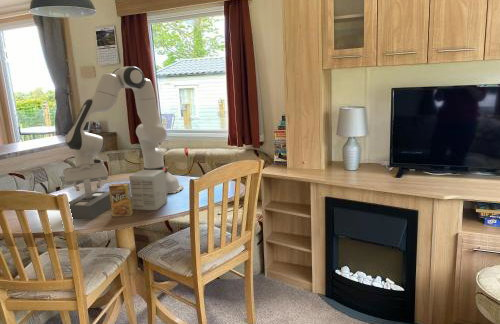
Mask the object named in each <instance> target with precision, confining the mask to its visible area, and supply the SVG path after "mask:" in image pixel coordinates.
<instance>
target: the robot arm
mask: <svg viewBox="0 0 500 324" xmlns="http://www.w3.org/2000/svg"><path fill="white" fill-rule="evenodd" d="M122 89H131V90H132V91H133V95H134V99H135V107H136V113H137V115H138V118H139V119H140V121H141V123H140V124H138V125H137V127H136V129H135V134H136V136H137V138H138V142H139V144H140V145H139V146H140V149H141V152H142V158H143V170H164V173H165V183H166V193H167V195H169V194H168V193H173V194H177V193H179V192H181V191H182V190H183V189H184V185H182V184H180V182H179V179H178V177H176V176H175V175H174V174H171V173H170V172H169V171H168V168H169V166H166V165H165V163H164V153H163V150H162V147H161V145H160V144H161V143H164V142H165V141H166V139H167V135H168V133H167V130H166V129H165V127H164V125H163V123H162V120H161V117H160V114H159V109H158V104H157V97H156V93H155V89H154V86H153V83H152V81H151V80H150V79H148V78H146V76H145V75H144V73H143V71H142V69H141V68H139V67H137V66H134V65H133V66H123V67H119V68H117V69H115V70H114V71H113V72H112V73H110V72H107V73H103V74H102V75H101V76H100V79H99V81H98V83H97V86H96V89H95V91H94V94H93V95H92V97H91V98H89V99H86V100H85V101H84V102H83V104H82V106H81V109H80V110H79V112H78V115H77V116H76V119H75V120H74V122H73V124H72V126H71V128H70V129H69V131H68V133H67V135H66V136H65V143H66V145H67V147H68V148H69V149H70V150H73V154H74V158H75V160H74V162H75V166H71V167H66V168H65V169H63V171H62V173H63V176H64V183H65V184H66V185H67V186H71V185H72V186H73V187H74V188H75V190H76V191H75V192H79V191H80V186H79V185H77V184H84V181H83V178H90V183H93V182H97V183H96V189H100V188H101V184H102V182H103V181H106V180H108V179H109V172H108V169H107V167H106V165H105V163H104V160H102V159H98V158H94V157H96V156H98V155H99V154H101V153H102V152H103V151H104V150H105V144H106V143H105V138H103V136H101V135H99V134H95V133H90V132H87V131H85V130H84V128H85V126H86V124H87V121H88V120H89V118H90V116H91V115H92V114H95V113H104V112H109V111H111V110H112V109H114V108H115V106H116V104H117V102H118V98H119V93H120V91H121V90H122ZM180 190H181V191H180ZM176 192H177V193H176Z"/></svg>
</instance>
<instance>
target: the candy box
mask: <svg viewBox="0 0 500 324" xmlns="http://www.w3.org/2000/svg"><path fill="white" fill-rule="evenodd" d="M108 192H110V200H111V208H110V209H111V215H112V216H111V217H131V216H132V215H133V210H134V209H133V205H132V196H131V188H130V182H129V183H111V184H110V185H108Z"/></svg>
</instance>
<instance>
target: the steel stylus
mask: <svg viewBox="0 0 500 324" xmlns="http://www.w3.org/2000/svg"><path fill="white" fill-rule="evenodd" d="M83 181H84V183H83V186H84V194H85V195H86V200H93V197H92V185H91V184H92V182H90V178H83Z"/></svg>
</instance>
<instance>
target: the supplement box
mask: <svg viewBox="0 0 500 324" xmlns="http://www.w3.org/2000/svg"><path fill="white" fill-rule="evenodd" d="M128 178H129V183H130V192H131V201H132V210H137V211H138V210H139V211H141V210H142V211H143V210H144V211H158V210H159V209H160V208H161V207H162V206H165V204H167V203H168V197H167V196H168V194H167V193H166V183H165V173H164V170H144V169H141V170H138V171H137V172H135V173H132V174H130V175H128Z"/></svg>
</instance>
